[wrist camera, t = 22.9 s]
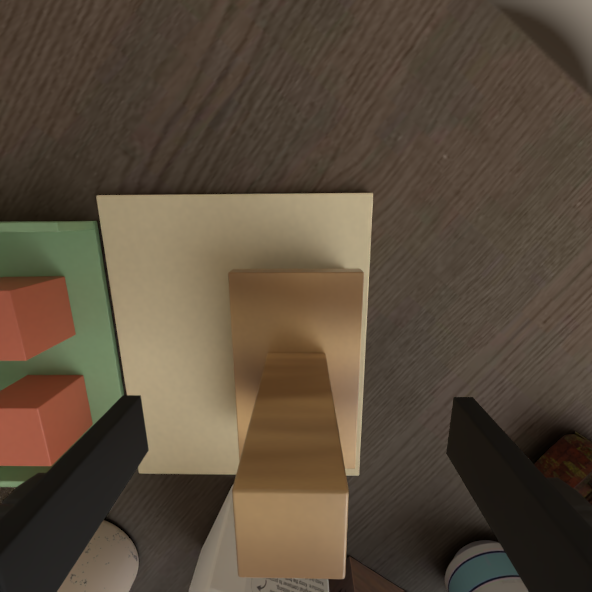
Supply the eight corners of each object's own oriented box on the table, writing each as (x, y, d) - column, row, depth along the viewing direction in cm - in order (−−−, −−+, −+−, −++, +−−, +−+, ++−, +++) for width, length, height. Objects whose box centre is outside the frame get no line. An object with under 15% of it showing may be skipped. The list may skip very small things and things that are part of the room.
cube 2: (4, 276, 21) (-66, 290, 17) (65, 276, 20) (9, 290, 17) (17, 334, 22) (-45, 361, 18) (76, 334, 21) (26, 361, 18)
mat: (101, 195, 20) (95, 195, 19) (371, 193, 19) (373, 192, 19) (142, 467, 24) (138, 474, 24) (357, 470, 24) (359, 476, 24)
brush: (240, 262, 20) (140, 338, 8) (353, 261, 20) (437, 338, 7) (249, 429, 23) (187, 678, 11) (347, 430, 23) (399, 683, 10)
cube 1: (27, 374, 22) (-31, 408, 18) (83, 374, 22) (37, 408, 18) (39, 424, 23) (-14, 466, 19) (93, 424, 23) (51, 466, 19)
